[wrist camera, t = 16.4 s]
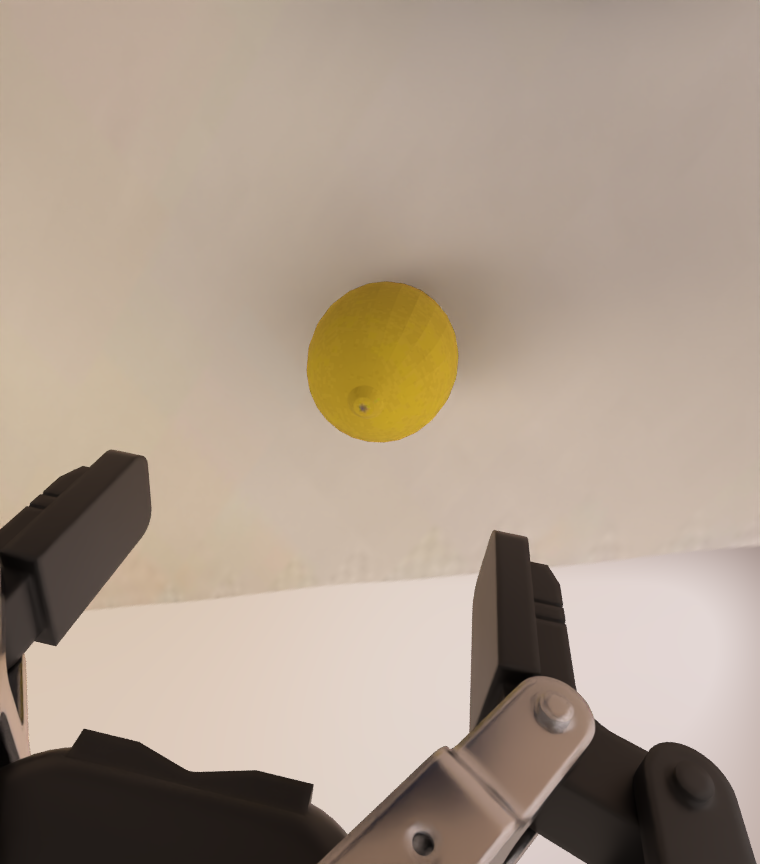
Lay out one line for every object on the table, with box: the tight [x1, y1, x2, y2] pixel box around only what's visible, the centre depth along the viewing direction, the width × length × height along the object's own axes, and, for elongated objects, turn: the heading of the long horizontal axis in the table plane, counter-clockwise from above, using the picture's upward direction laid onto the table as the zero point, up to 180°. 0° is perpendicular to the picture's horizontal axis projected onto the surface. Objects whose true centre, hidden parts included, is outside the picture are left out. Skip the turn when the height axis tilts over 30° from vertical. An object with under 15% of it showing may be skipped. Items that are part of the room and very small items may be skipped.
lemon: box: [307, 281, 458, 442], centre depth 22 cm, size 6×6×8 cm
